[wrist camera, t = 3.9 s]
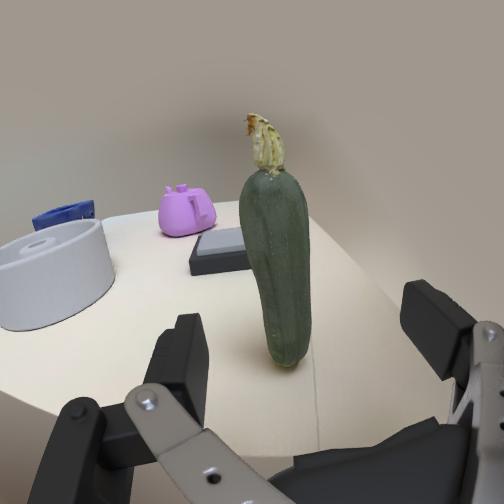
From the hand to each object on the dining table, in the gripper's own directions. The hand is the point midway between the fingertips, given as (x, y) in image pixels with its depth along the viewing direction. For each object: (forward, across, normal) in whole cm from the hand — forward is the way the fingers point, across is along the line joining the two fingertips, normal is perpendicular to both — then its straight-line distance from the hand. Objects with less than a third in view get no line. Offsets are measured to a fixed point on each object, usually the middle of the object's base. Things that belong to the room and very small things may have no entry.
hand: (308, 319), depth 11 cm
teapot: (+60, +16, +12) cm, 64 cm away
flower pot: (+56, +47, +12) cm, 74 cm away
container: (+30, +37, +12) cm, 49 cm away
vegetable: (+9, 0, +12) cm, 15 cm away
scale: (+38, +4, +12) cm, 40 cm away
